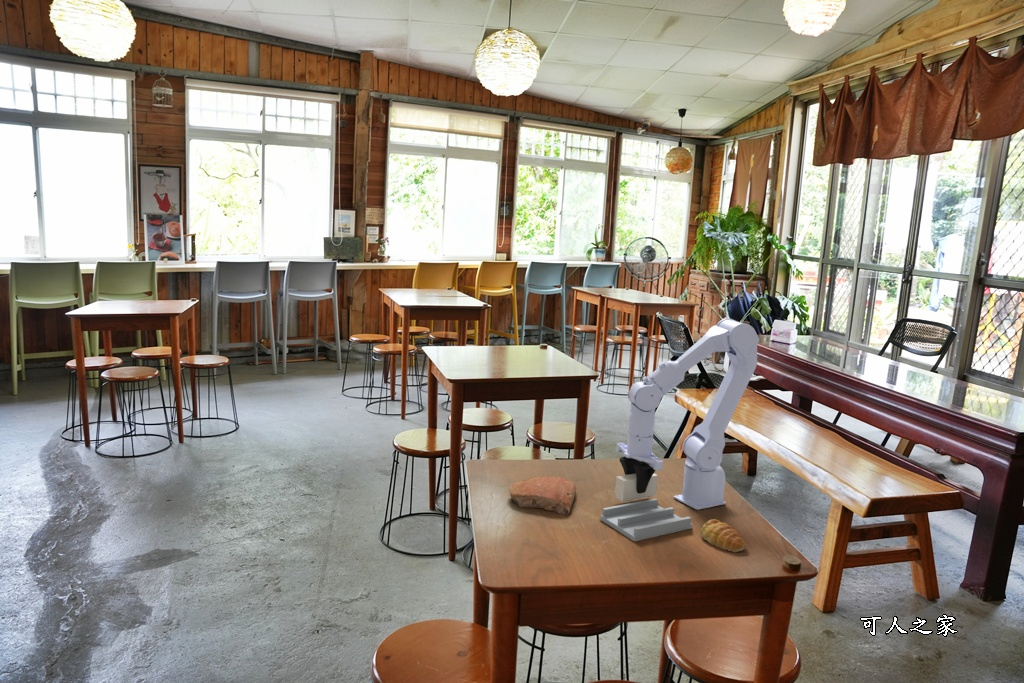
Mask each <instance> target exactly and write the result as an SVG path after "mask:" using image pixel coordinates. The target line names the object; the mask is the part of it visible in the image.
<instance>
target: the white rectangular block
mask: <svg viewBox="0 0 1024 683" xmlns="http://www.w3.org/2000/svg"><path fill="white" fill-rule="evenodd" d="M658 478H659V475H658V474H656V473H654V474H653V475H652V477H651V479H650V481H649V483H648V486H647V489H646V492H645V493H637V489H636V483H637V479H636V473H635V474H629V475H625V474H624V475H618V476H617V475H616V477H615V488H614V498H616V500H619V501H620V502H627V501H633V500H634V501H635V500H639V499H644V498H650V497H654V496H657V488H658Z"/></svg>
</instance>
